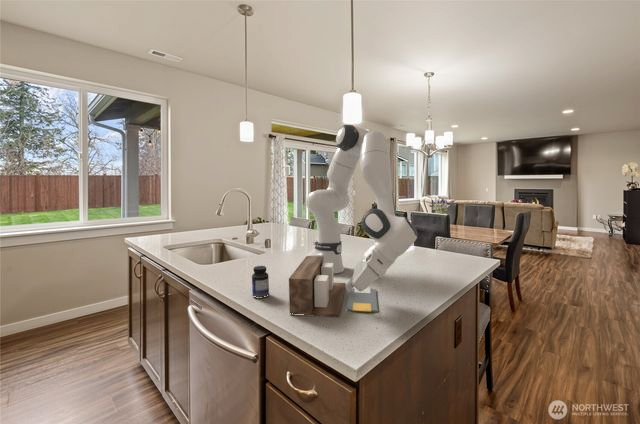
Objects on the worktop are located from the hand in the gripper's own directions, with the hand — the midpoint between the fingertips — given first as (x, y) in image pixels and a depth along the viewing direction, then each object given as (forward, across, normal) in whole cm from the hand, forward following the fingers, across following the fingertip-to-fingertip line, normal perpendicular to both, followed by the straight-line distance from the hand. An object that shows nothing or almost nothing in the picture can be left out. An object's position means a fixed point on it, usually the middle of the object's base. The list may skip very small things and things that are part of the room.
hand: (347, 288), depth 101 cm
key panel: (+13, -8, -3) cm, 15 cm away
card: (+2, -8, +8) cm, 12 cm away
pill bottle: (+28, -8, -18) cm, 35 cm away
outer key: (+10, 0, -2) cm, 10 cm away
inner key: (+10, -16, -2) cm, 19 cm away
